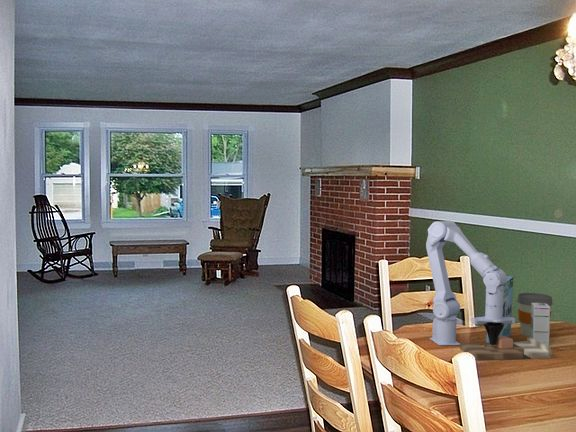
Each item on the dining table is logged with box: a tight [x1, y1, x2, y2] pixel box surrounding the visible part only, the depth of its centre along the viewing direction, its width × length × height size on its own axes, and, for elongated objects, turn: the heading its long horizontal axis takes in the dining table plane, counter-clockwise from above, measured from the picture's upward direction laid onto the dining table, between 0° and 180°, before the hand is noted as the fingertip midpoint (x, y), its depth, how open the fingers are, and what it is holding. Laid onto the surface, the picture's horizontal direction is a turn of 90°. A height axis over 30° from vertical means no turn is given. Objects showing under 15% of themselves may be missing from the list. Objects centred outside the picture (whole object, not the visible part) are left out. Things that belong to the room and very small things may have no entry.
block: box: [494, 336, 514, 349], centre depth 218 cm, size 4×4×3 cm
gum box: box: [485, 275, 514, 343], centre depth 232 cm, size 20×5×23 cm, turn 149°
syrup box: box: [530, 303, 551, 347], centre depth 230 cm, size 6×6×14 cm
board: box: [459, 336, 552, 361], centre depth 216 cm, size 14×26×4 cm, turn 98°
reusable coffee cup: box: [516, 292, 553, 337], centre depth 243 cm, size 13×13×15 cm
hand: (492, 344), depth 217 cm, fingers closed
